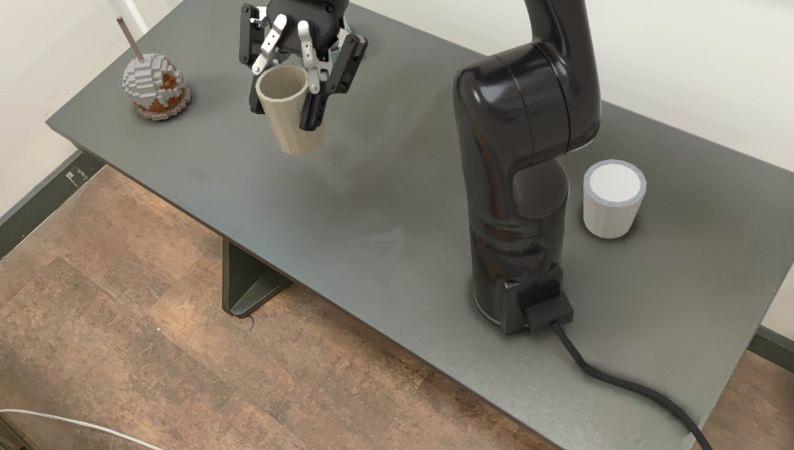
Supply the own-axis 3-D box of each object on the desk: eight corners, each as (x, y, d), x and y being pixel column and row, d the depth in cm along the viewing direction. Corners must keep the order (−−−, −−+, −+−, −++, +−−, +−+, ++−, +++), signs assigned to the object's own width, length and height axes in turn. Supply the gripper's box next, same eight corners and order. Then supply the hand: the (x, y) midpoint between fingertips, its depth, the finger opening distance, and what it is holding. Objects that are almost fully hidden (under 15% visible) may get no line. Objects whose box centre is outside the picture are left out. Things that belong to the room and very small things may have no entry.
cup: (332, 147, 74) (314, 92, 68) (282, 162, 74) (260, 108, 67) (321, 113, 77) (303, 57, 71) (273, 127, 77) (251, 72, 70)
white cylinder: (602, 187, 86) (609, 149, 80) (649, 217, 82) (659, 179, 77) (566, 220, 83) (570, 184, 77) (613, 253, 80) (621, 217, 74)
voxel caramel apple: (189, 118, 99) (145, 33, 87) (135, 126, 99) (82, 41, 87) (194, 80, 103) (152, -6, 91) (142, 88, 103) (93, 3, 91)
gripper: (235, -74, 66) (202, 101, 70) (365, -43, 61) (322, 142, 65) (281, -55, 73) (249, 103, 77) (401, -26, 68) (360, 141, 72)
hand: (283, 121), depth 71 cm, fingers closed on cup, 5 cm apart
